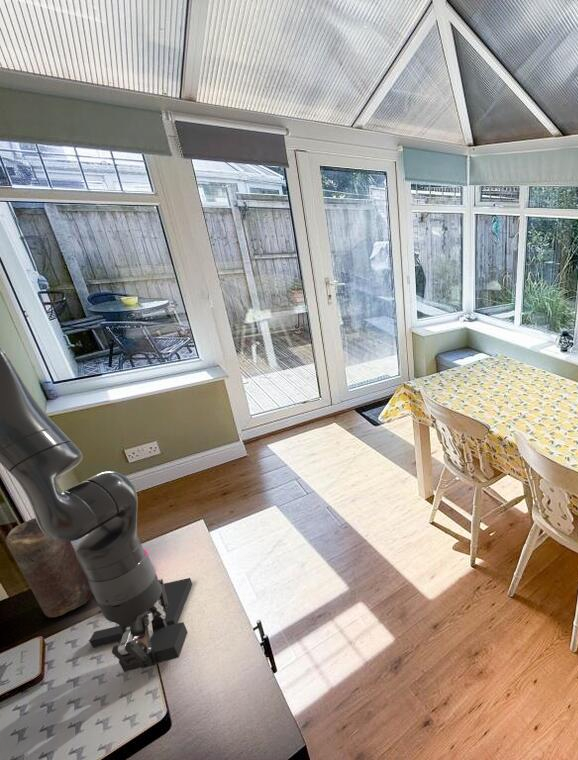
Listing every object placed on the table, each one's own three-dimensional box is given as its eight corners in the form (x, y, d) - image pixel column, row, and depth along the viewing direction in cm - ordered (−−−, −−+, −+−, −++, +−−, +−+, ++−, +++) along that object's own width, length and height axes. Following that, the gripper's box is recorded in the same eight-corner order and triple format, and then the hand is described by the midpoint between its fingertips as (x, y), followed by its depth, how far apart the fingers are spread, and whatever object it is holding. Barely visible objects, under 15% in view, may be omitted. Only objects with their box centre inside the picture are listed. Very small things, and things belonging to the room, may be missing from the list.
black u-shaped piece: (92, 648, 77) (88, 641, 76) (118, 600, 86) (115, 594, 85) (176, 627, 81) (173, 620, 80) (192, 584, 90) (190, 577, 89)
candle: (97, 581, 90) (60, 509, 82) (98, 604, 85) (58, 530, 77) (46, 602, 85) (1, 528, 77) (44, 627, 80) (-4, 551, 72)
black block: (123, 672, 72) (118, 661, 70) (136, 645, 76) (131, 634, 75) (178, 657, 74) (174, 647, 73) (187, 632, 79) (183, 621, 77)
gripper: (117, 555, 73) (147, 620, 80) (72, 629, 61) (111, 698, 68) (168, 546, 75) (193, 609, 82) (135, 615, 63) (167, 682, 70)
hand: (156, 649), depth 75 cm, fingers closed on black block, 5 cm apart
